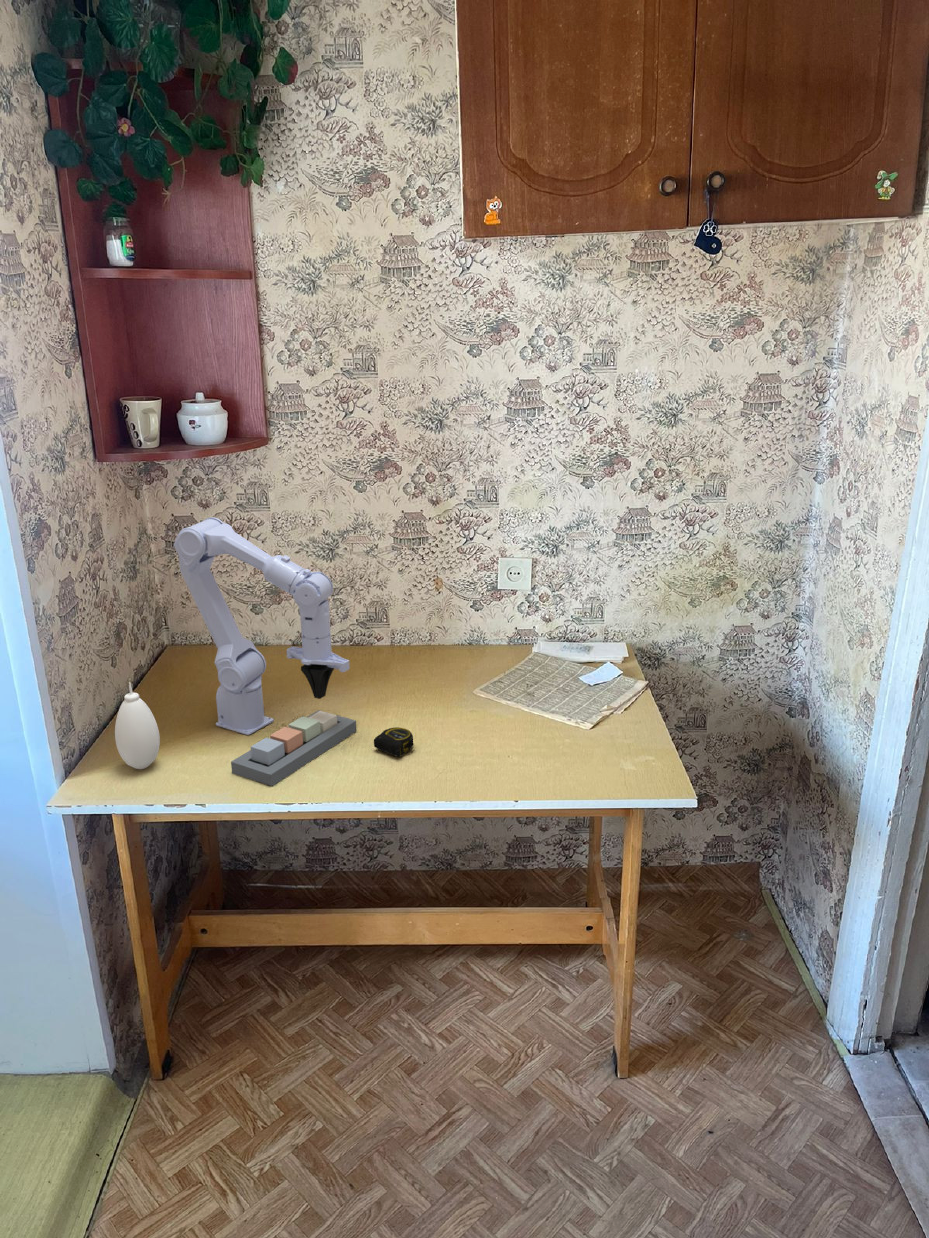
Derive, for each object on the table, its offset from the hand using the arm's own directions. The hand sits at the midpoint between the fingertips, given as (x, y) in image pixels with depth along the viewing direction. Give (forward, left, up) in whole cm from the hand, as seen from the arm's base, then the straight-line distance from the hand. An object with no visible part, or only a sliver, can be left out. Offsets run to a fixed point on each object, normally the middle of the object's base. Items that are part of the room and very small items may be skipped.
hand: (320, 696), depth 192 cm
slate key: (0, -16, -6) cm, 17 cm away
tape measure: (+17, +2, -9) cm, 19 cm away
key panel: (0, -8, -9) cm, 12 cm away
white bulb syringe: (-22, -28, -9) cm, 37 cm away
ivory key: (0, 0, -7) cm, 7 cm away
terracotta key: (0, -11, -6) cm, 13 cm away
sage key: (0, -5, -6) cm, 8 cm away
